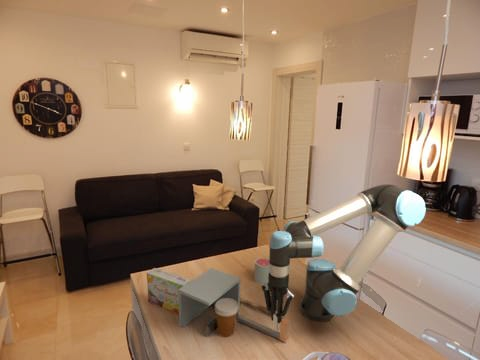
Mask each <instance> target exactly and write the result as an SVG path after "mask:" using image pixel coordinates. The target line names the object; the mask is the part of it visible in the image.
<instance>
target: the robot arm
mask: <svg viewBox="0 0 480 360" xmlns="http://www.w3.org/2000/svg"><path fill="white" fill-rule="evenodd" d="M426 212H427V208H426V202H425V200H424V199H423V197H422V196H420V195H419V194H417V193H415V192H413V191H411V190H407V189H404V188H401V187H398V186H396V185H394V184H389V183H388V184H387V183H385V184H380V185H376V186H372V187H369V188H367V189H364V190H362V191H360V192H358V193H357V196H355V197H353V198H350V199H347V200H346V201H343V202H341V203H339V204H337V205H335V206H332V207H331V208H328V209H326V210H323V211H321V212H319V213H316V214H314V215H312V216H310V217H308V218H305V219H303V220H301V221H294V220H293V221H287V223H285V225H284V227H283V231H282V230H276V231H274V232H272V233H271V234H270V238H269V254H268V255H269V257H268V259H269V275H268V283H267V284H266V283H265V284H264V285H262V286H261V289H262V291H263V295H264V301H265V308H267V310H268V311H270V312H271V316H270V319H271V321H272V329H273V330H274V331H278V329H280V324H281V321H282V319H283V318H284V317H285V316H286V315H287V313H288V311H289V308H290V306H291V303H292V300H293V298H294V297H295V296H296V295H295V293H292V292H291V291H290V288H289V283H290V281H289V280H290V264H291V259H309V258H311V260H309V261H308V262H307V265H306V268H305V269H306V272H305V273H306V274H305V275H306V276H305V288H304V289H305V291H304V294H303V296H302V297H301V300H300V302H299V311H300V312H301V314H302V315H303V316H305V317H306V318H308V319H310V320H312V321H315V322H328V321H332V320H333V319H334V318H335V317H336V316H338V317H341V316H347V315H349V314H350V313H352V312H353V311H354V309H355V308H356V307H357V304H358V302H357V301H358V299H357V294H358V293H359V292H360V283H361V281H362V280H363V278H364V277H366V275H367V273H368V272H369V271H370V269H371V268H372V267H373V265H374V264H375V263H376V261H377V260H378V259H379V257H380V256H381V255H382V254H383V253H384V251H385V250H386V248H387V247H388V246H389V244H390V243H391V242H392V240H394V238H395V237H396V235H397V234H398V233H402V232H405V231H406V230H407V228H408V227H414V226H417V225H419V224H421V222H422V221H423V220H424V218H425V215H426ZM373 213H375V216H376V217H375V218H376V219H375V220H374V222H373V223H372V224H371V226H370V227H369V228H368V230H367V231H366V232H365V233H364V234H363V236H362V237H361V239H360V240H359V241H358V243H357V244H356V245H355V247H354V248H353V250H352V251H350V253H349V254H348V256H347V258H345V260H344V261H343V262H342V264H341V265H340V267H339V268H337V267H336V264H335V263H334V262H333V261H331V260H328V259H323V258H318V257H321V256H322V255H323V254H324V248H325V246H324V241H323V239H322V237H320V236H318V235H319V234H321V233H324V232H326V231H329V230H330V229H333V228H335V227H337V226H340V225H342V224H344V223H346V222H349V221H351V220H353V219H355V218H358V217H360V216H362V215H365V214H367V215H371V214H373ZM315 258H316V259H315ZM285 295H286V300H285V303H284V297H285ZM271 298H272V300H271ZM334 316H335V317H334Z"/></svg>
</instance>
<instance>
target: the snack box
mask: <svg viewBox="0 0 480 360" xmlns="http://www.w3.org/2000/svg"><path fill="white" fill-rule="evenodd" d="M192 280H193V279H188V278H186V277H183V276H180V275H177V274H174V273H171V272H168V271H165V270H162V269H159V268H156V267H153V268H152V269H150V270H149V271H147V272H146V283H147V299H148V301H147V302H148V303H150V302H151V303H150V304H152V303H153V305H155V304H156V305H155V306H157V305H158V307H160V308H162V307H163V309H165V310H167V309H168V311H170V312H172V313H174V312H175V314H177V315H179V295H178V289H180V288H181V287H183V286H185V285H186V284H188V283H189V282H191V281H192Z"/></svg>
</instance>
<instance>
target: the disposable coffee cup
mask: <svg viewBox="0 0 480 360" xmlns="http://www.w3.org/2000/svg"><path fill="white" fill-rule="evenodd" d="M213 309H214V312H215V318H216V319H217V326H218V329H217V333H218V334H219V336H221V337H223V338H228V337H231V336H233V335H234V334H235V327H236V323H237V320H236V317H237V312H238V309H239V306H238V304H237V302H236V301H235V300H233V299H231V298H222V299H220V300H218V301H217V302H216V304H215V305H214V306H213Z"/></svg>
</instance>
